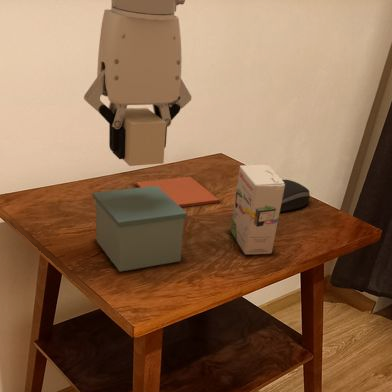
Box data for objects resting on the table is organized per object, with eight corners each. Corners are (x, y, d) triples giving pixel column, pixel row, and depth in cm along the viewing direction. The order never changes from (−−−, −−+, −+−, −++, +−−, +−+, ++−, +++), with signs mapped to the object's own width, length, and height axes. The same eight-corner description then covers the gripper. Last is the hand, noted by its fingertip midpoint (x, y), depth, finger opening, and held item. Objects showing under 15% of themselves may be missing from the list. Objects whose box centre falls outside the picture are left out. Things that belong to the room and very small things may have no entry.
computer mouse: (246, 203, 103) (249, 182, 100) (290, 191, 109) (294, 172, 107) (272, 217, 99) (276, 196, 96) (316, 204, 105) (321, 184, 103)
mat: (161, 210, 97) (161, 206, 96) (135, 185, 105) (135, 182, 104) (218, 202, 102) (219, 199, 101) (190, 179, 110) (190, 176, 109)
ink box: (229, 231, 92) (238, 163, 85) (256, 230, 94) (267, 163, 86) (244, 255, 86) (255, 183, 79) (272, 254, 87) (287, 183, 80)
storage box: (118, 273, 78) (118, 222, 73) (94, 240, 85) (92, 192, 80) (183, 261, 83) (187, 213, 78) (155, 232, 90) (157, 185, 85)
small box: (129, 166, 72) (130, 123, 68) (112, 149, 76) (112, 108, 73) (163, 163, 74) (166, 122, 70) (144, 147, 78) (146, 107, 75)
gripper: (192, -1, 70) (180, 142, 81) (63, -9, 62) (69, 148, 74) (221, 9, 65) (203, 160, 76) (83, 1, 57) (87, 169, 69)
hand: (137, 153), depth 75 cm, fingers closed on small box, 5 cm apart
